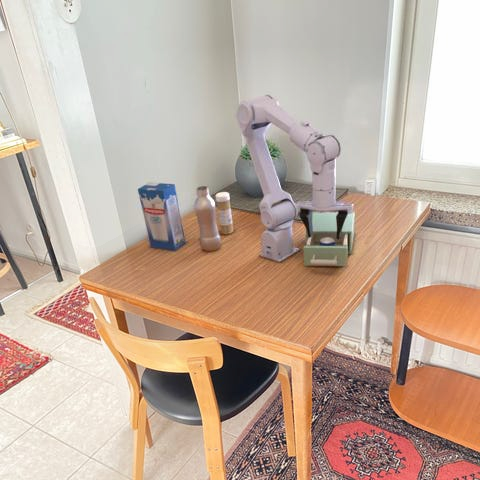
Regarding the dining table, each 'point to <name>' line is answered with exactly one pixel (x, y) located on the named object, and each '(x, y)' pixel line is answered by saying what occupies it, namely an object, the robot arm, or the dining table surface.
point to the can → (326, 241)
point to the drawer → (326, 250)
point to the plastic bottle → (206, 219)
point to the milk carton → (162, 215)
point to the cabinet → (333, 225)
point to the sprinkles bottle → (224, 212)
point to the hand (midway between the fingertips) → (324, 236)
